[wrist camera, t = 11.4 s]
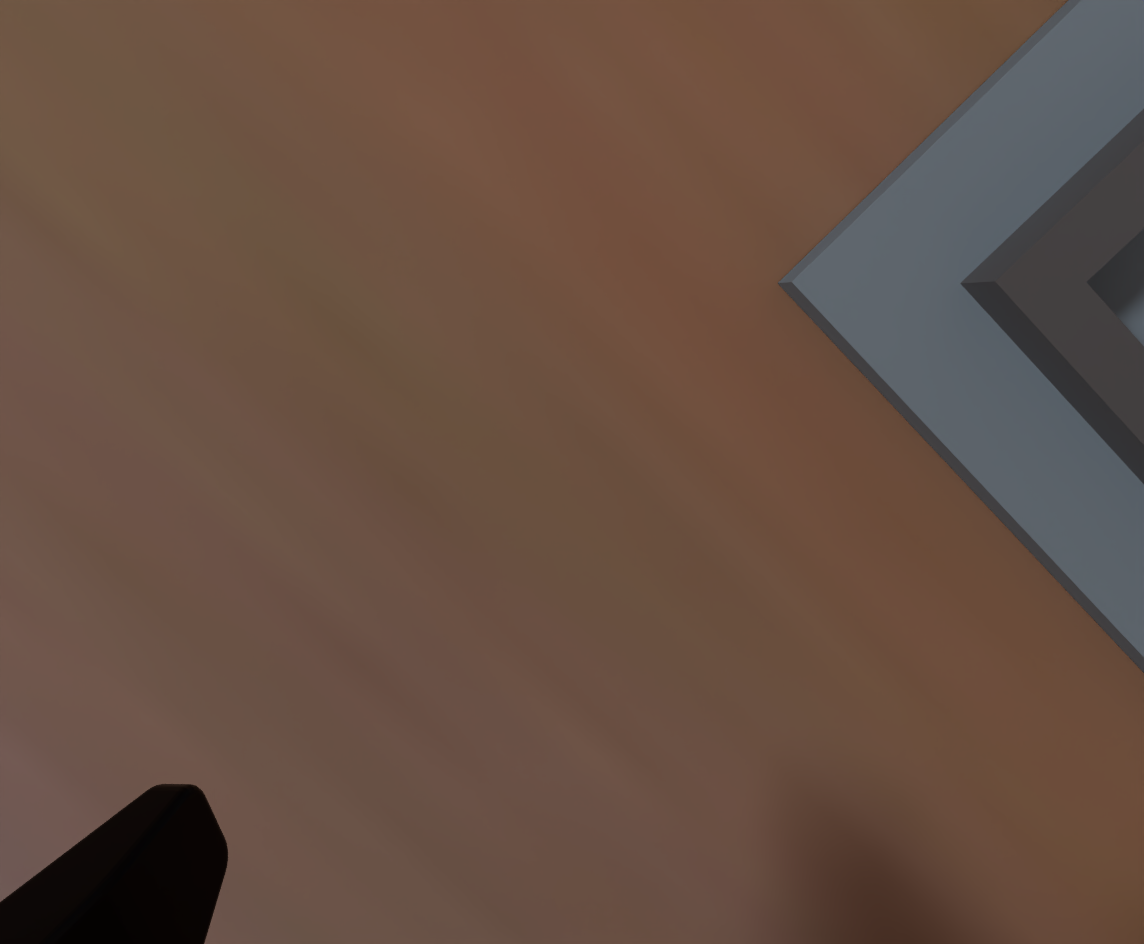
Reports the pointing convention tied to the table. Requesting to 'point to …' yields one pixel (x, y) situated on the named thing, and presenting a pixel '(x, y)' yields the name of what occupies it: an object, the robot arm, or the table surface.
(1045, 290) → the dock
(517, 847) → the table surface
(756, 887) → the table surface
